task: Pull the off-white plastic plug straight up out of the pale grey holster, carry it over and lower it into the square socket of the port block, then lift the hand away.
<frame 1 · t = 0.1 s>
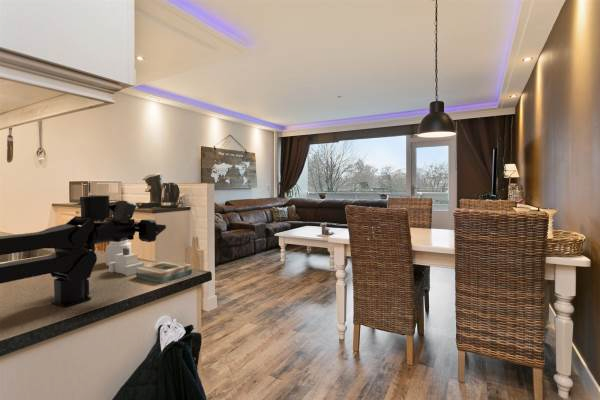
hand: (155, 225, 104), 17 cm above the counter, tool horizontal, fingers open, 9 cm apart
port block: (164, 275, 107), on the counter
plug: (126, 271, 110), on the counter
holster: (126, 271, 110), on the counter
medicine bottle: (119, 263, 121), on the counter
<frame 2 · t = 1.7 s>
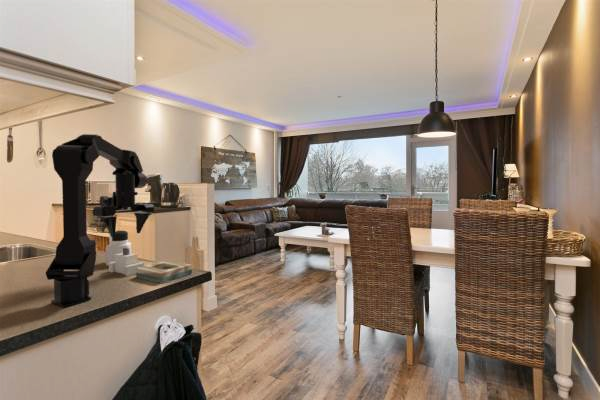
hand: (126, 235, 109), 13 cm above the counter, tool pointing down, fingers open, 9 cm apart
nothing on the counter moved.
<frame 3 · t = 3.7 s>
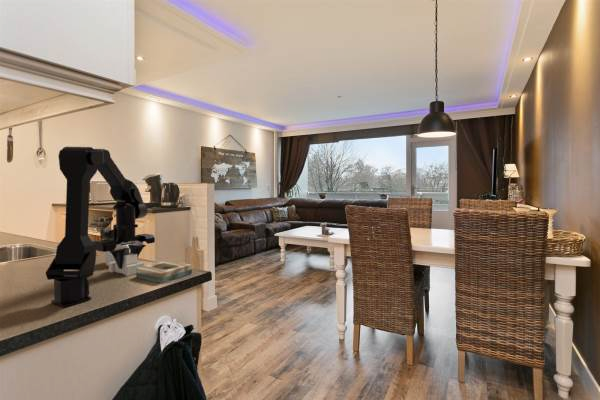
hand: (126, 267, 110), 2 cm above the counter, tool pointing down, fingers closed on plug, 4 cm apart
plug: (126, 271, 110), on the counter, touching gripper
everything else where it was.
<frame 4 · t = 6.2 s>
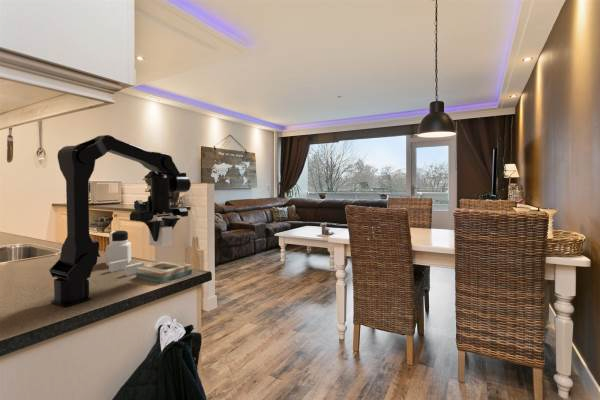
hand: (161, 240, 106), 12 cm above the counter, tool pointing down, fingers closed on plug, 4 cm apart
plug: (161, 244, 106), point 10 cm above the counter, touching gripper
everything else where it was.
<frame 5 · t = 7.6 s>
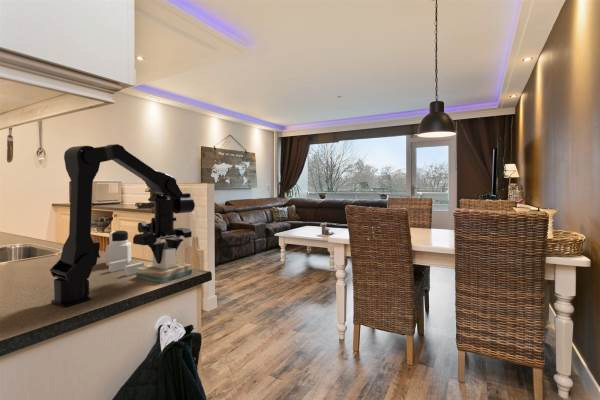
hand: (164, 262, 106), 4 cm above the counter, tool pointing down, fingers closed on plug, 4 cm apart
plug: (164, 266, 106), point 3 cm above the counter, touching gripper
everything else where it was.
when the fingers open (3 cm above the counter, at t = 8.5 s): plug stays where it is, resting on port block.
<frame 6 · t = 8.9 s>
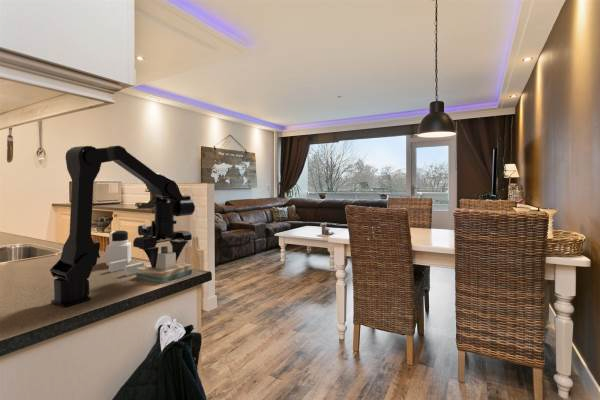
hand: (164, 264, 106), 3 cm above the counter, tool pointing down, fingers open, 8 cm apart
plug: (164, 270, 106), point 1 cm above the counter, touching port block
everything else where it was.
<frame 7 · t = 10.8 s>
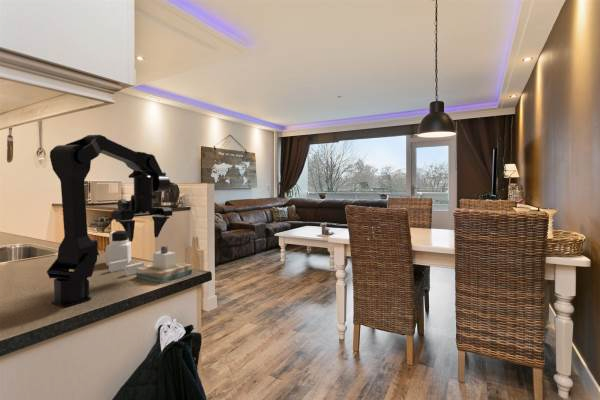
hand: (143, 239, 107), 12 cm above the counter, tool pointing down, fingers open, 9 cm apart
nothing on the counter moved.
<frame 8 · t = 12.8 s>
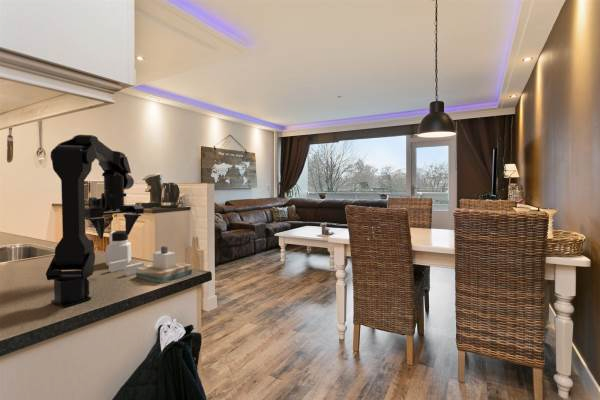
hand: (114, 236, 109), 12 cm above the counter, tool pointing down, fingers open, 9 cm apart
nothing on the counter moved.
at the end: plug 0.0 cm off-centre on the port block, point 1.5 cm above the port block's base; plug tilted 0°; the gripper is holding nothing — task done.
